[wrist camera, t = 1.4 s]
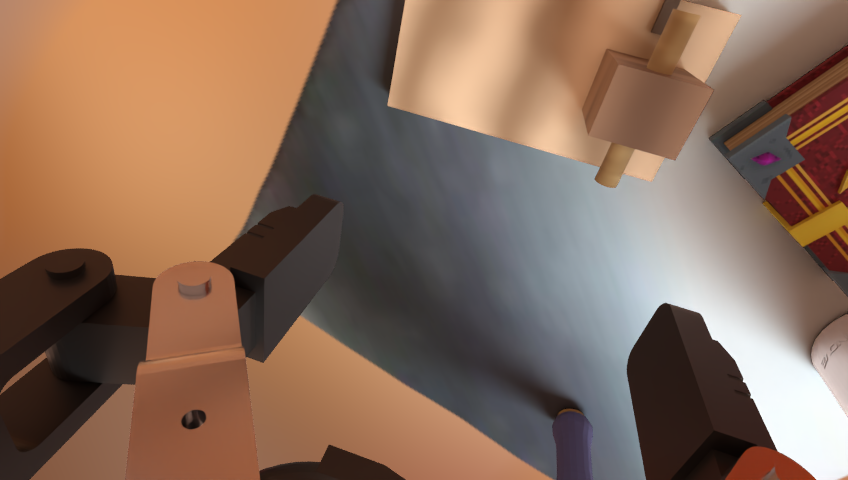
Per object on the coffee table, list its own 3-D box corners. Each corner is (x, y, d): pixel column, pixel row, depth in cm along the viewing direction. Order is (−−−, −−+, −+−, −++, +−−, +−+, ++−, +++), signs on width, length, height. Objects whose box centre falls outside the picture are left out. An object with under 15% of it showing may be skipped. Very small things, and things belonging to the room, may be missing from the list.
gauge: (711, 17, 27) (748, 28, 22) (634, 169, 32) (649, 205, 27) (627, -4, 27) (645, 2, 22) (565, 149, 33) (568, 181, 28)
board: (729, 12, 28) (743, 15, 26) (646, 171, 34) (652, 183, 32) (424, -65, 30) (415, -68, 28) (394, 99, 36) (386, 106, 34)
